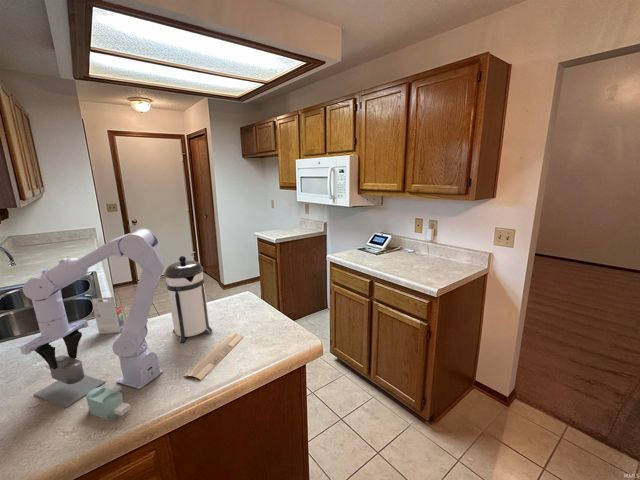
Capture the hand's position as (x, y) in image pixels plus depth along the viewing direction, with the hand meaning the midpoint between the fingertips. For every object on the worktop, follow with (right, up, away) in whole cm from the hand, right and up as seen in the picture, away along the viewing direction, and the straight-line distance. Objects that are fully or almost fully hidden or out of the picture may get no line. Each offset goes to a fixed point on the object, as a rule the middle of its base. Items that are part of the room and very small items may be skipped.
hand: (63, 362), depth 82 cm
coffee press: (+22, -1, +30) cm, 37 cm away
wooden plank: (+37, -5, +16) cm, 41 cm away
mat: (0, -8, +2) cm, 8 cm away
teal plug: (+17, -10, -7) cm, 21 cm away
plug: (0, -4, +1) cm, 4 cm away
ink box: (-9, -2, +33) cm, 34 cm away
